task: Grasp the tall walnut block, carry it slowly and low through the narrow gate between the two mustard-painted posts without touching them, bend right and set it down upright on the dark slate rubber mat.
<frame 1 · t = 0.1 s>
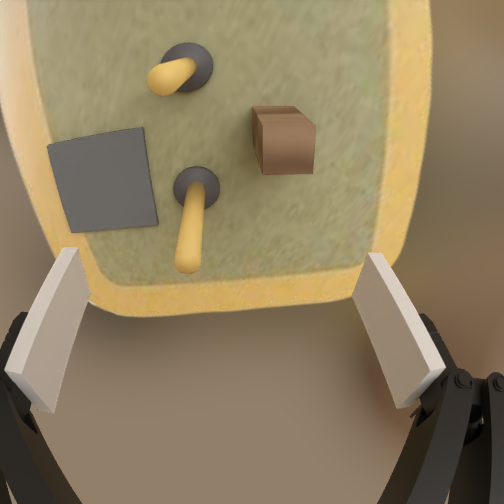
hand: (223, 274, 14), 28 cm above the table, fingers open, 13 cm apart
gate: (191, 129, 36), on the table
mat: (102, 183, 39), on the table
block: (273, 125, 37), on the table
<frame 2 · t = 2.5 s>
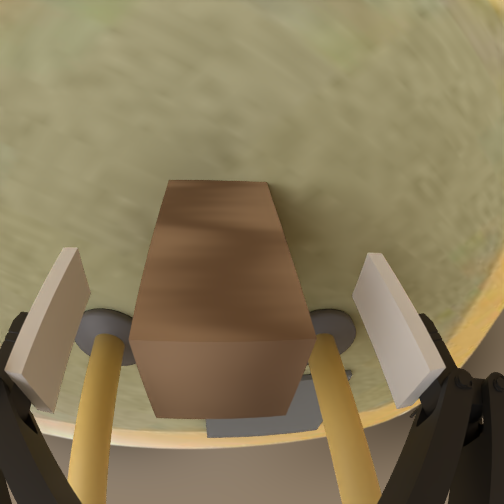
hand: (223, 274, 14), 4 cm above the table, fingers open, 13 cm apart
gate: (214, 338, 23), on the table
mat: (270, 409, 32), on the table
block: (216, 222, 17), on the table
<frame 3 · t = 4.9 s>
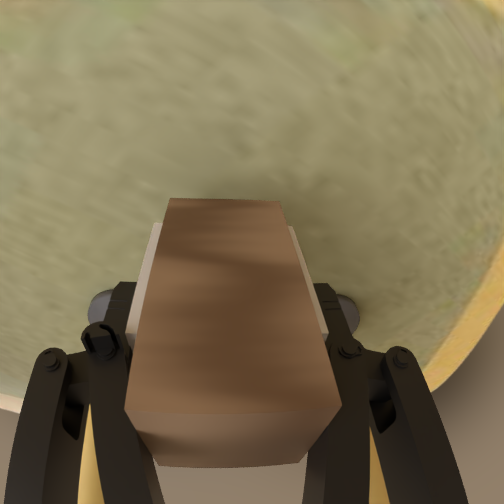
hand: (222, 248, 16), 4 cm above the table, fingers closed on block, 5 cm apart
gate: (224, 321, 25), on the table
block: (222, 244, 16), point 4 cm above the table, touching gripper
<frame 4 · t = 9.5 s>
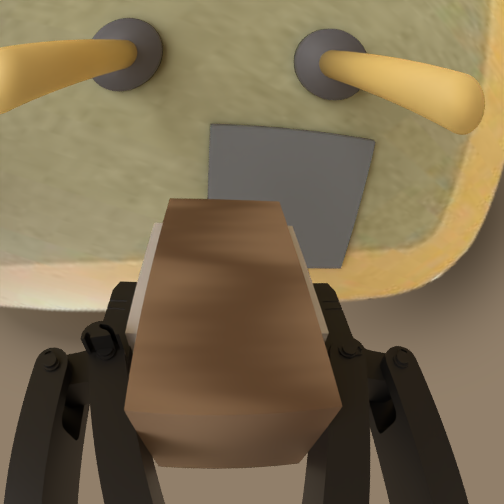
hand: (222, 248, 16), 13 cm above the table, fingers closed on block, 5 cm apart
gate: (228, 51, 20), on the table
mat: (285, 203, 29), on the table
block: (222, 244, 16), point 12 cm above the table, touching gripper
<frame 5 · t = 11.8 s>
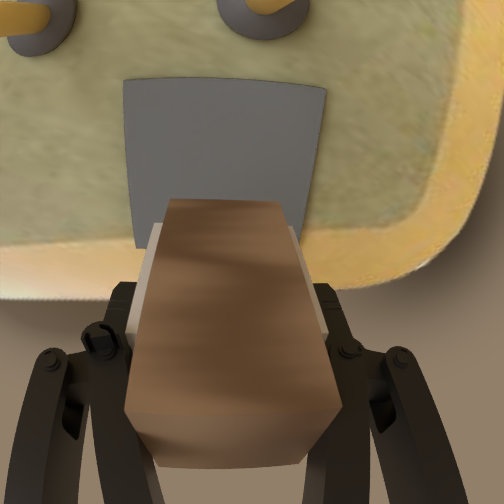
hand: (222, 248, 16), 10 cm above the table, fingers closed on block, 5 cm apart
gate: (142, 0, 15), on the table
mat: (219, 169, 24), on the table
block: (222, 244, 16), point 10 cm above the table, touching gripper
when the fingers open (2 cm above the table, at t = 14.1 s): block stays where it is, resting on mat.
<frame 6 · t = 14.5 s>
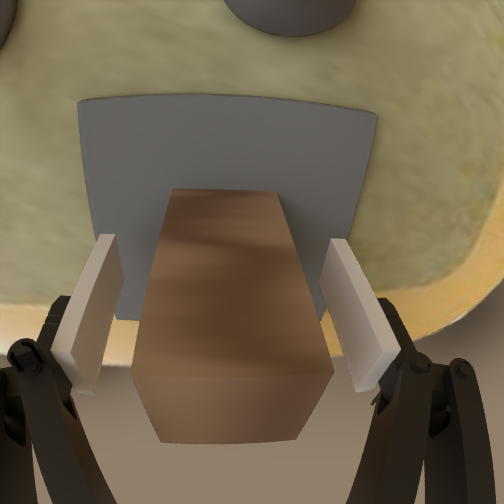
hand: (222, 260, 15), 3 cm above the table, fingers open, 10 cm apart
mat: (221, 226, 17), on the table
block: (222, 233, 17), point 1 cm above the table, touching mat
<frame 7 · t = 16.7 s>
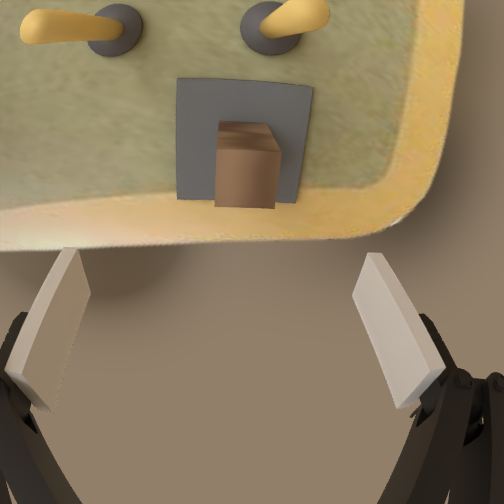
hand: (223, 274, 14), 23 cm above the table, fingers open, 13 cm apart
gate: (190, 24, 25), on the table
mat: (240, 142, 34), on the table
block: (241, 143, 33), point 1 cm above the table, touching mat
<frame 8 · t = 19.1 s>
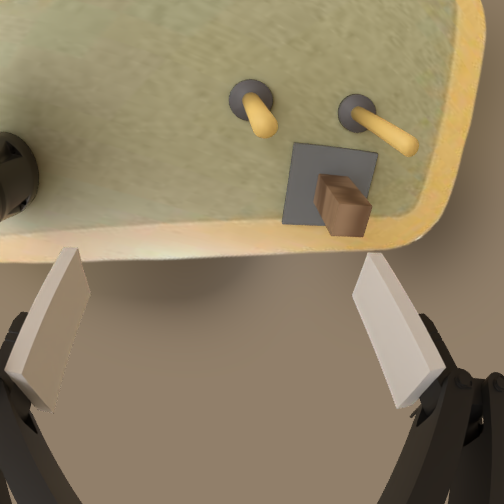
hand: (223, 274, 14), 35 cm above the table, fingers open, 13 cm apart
gate: (305, 105, 42), on the table
mat: (329, 187, 50), on the table
block: (330, 189, 50), point 1 cm above the table, touching mat
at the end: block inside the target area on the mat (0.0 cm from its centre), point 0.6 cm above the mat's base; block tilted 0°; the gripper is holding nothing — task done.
